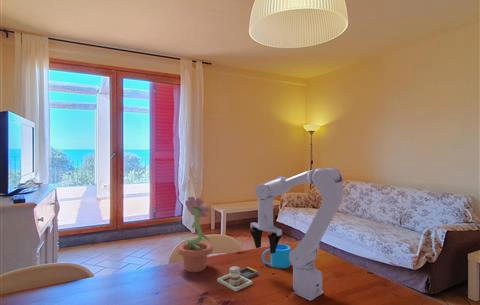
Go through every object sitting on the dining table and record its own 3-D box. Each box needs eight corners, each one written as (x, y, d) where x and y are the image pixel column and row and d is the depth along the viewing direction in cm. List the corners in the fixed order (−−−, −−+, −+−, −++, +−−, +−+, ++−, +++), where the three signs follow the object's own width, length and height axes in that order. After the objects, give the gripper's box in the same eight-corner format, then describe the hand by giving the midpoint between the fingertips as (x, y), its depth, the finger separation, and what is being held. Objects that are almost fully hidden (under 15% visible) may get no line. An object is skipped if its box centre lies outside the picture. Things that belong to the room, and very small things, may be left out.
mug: (288, 262, 121) (288, 243, 121) (292, 270, 113) (292, 250, 113) (260, 262, 121) (260, 244, 121) (262, 270, 113) (263, 250, 113)
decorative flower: (221, 267, 116) (221, 195, 116) (201, 281, 103) (202, 200, 103) (192, 260, 122) (192, 192, 122) (170, 272, 110) (171, 197, 110)
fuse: (242, 283, 100) (242, 268, 100) (235, 287, 97) (235, 271, 97) (234, 280, 103) (234, 265, 103) (226, 284, 100) (227, 268, 100)
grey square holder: (257, 277, 107) (257, 271, 107) (246, 282, 103) (246, 275, 103) (247, 272, 111) (247, 266, 111) (235, 276, 107) (235, 270, 107)
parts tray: (252, 286, 99) (252, 281, 99) (235, 294, 94) (235, 288, 94) (233, 277, 106) (233, 272, 106) (217, 283, 101) (217, 278, 101)
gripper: (287, 216, 104) (287, 252, 104) (259, 210, 115) (258, 243, 115) (274, 219, 99) (274, 257, 99) (246, 212, 110) (246, 247, 110)
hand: (265, 250), depth 107 cm, fingers open, 7 cm apart
